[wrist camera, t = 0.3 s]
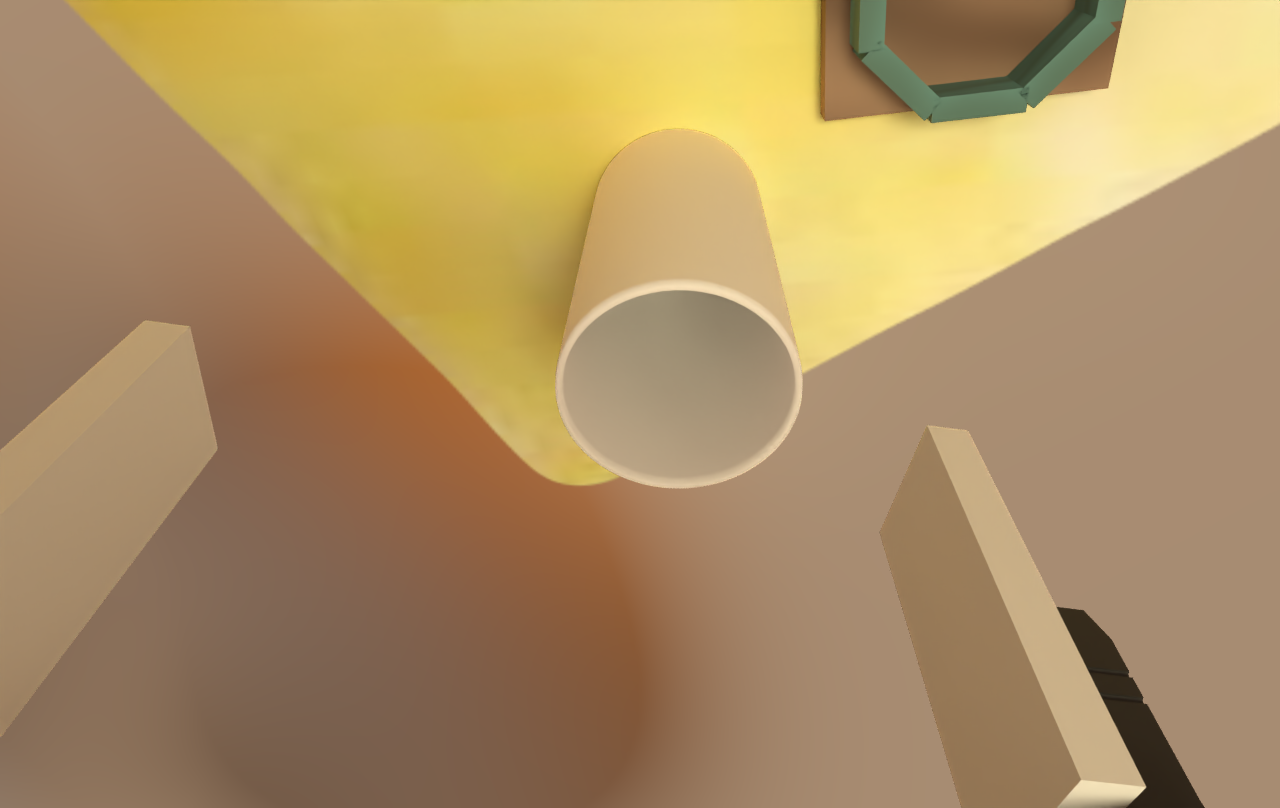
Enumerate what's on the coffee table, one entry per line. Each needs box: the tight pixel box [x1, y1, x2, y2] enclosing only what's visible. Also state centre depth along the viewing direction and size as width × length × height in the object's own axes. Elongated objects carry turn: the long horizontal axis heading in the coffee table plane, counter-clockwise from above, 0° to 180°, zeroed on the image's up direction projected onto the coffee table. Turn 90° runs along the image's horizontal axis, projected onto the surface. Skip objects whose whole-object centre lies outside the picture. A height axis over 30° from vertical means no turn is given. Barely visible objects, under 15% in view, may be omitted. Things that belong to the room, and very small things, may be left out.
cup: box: [555, 129, 802, 488], centre depth 32 cm, size 8×8×16 cm
